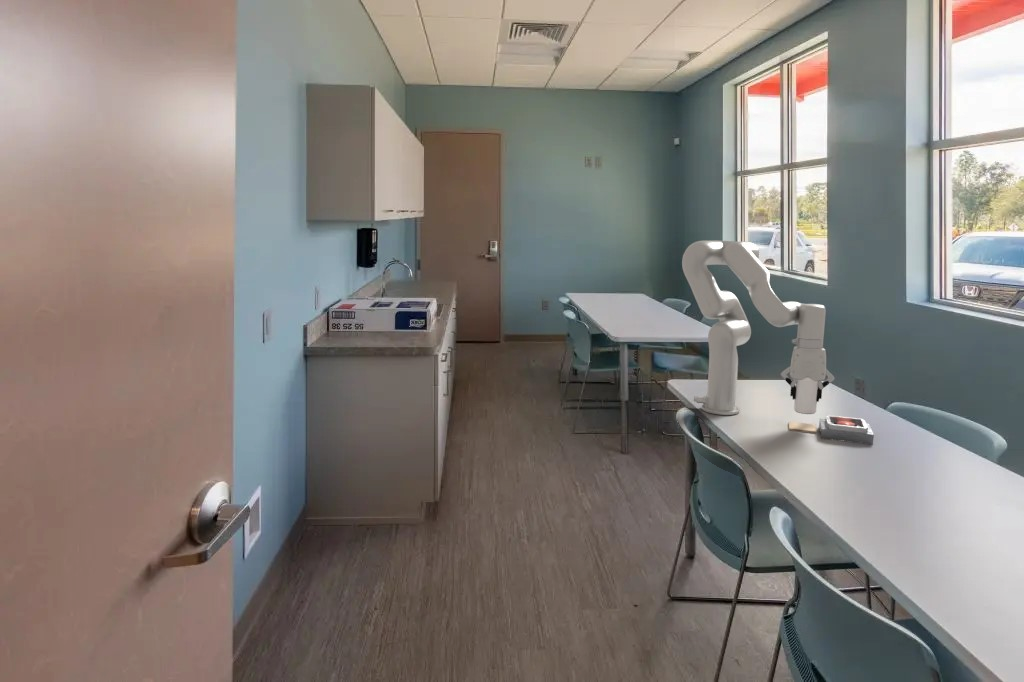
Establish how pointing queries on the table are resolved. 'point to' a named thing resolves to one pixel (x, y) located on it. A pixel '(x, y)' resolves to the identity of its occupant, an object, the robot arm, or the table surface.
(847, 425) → the button
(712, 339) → the robot arm
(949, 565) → the table surface
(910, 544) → the table surface
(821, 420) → the white shallow box
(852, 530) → the table surface
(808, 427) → the coaster
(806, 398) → the can
